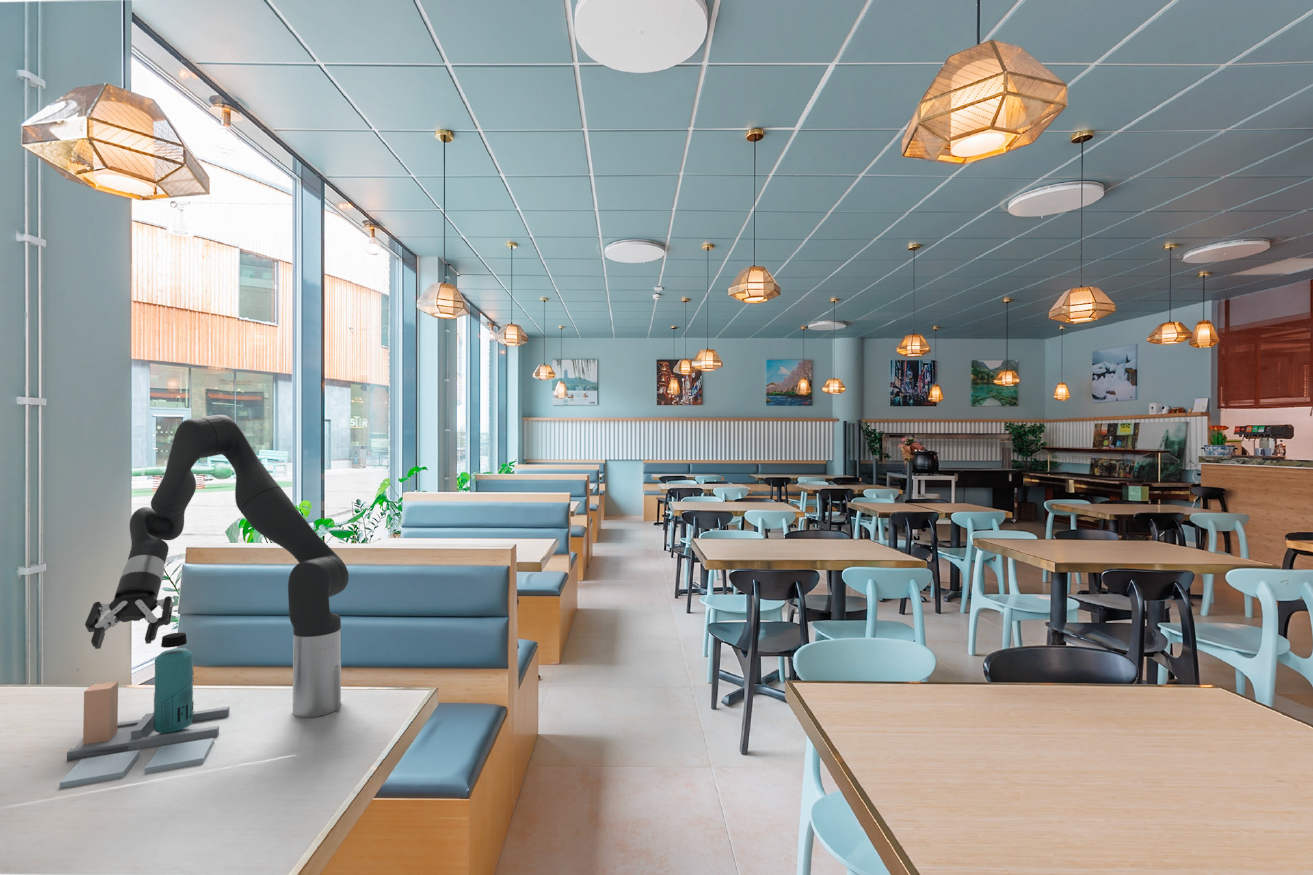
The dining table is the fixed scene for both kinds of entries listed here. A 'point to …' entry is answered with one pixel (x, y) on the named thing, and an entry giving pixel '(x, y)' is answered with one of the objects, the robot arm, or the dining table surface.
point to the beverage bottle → (173, 686)
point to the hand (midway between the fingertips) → (122, 644)
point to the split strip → (122, 762)
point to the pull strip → (128, 726)
